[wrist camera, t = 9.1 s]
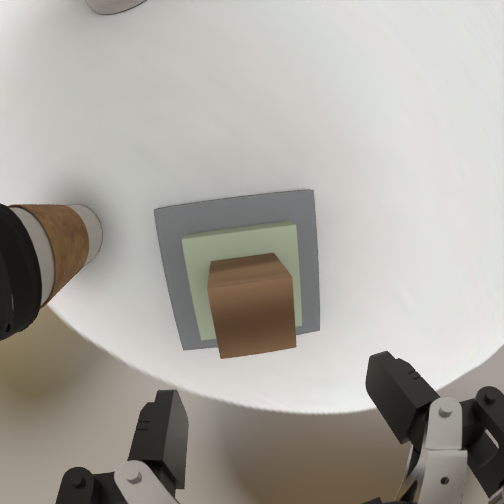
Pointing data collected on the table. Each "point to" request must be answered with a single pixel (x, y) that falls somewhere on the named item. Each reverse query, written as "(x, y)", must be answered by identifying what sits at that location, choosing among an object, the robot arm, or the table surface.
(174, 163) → the table surface
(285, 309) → the walnut block
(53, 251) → the coffee cup
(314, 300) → the stack base
